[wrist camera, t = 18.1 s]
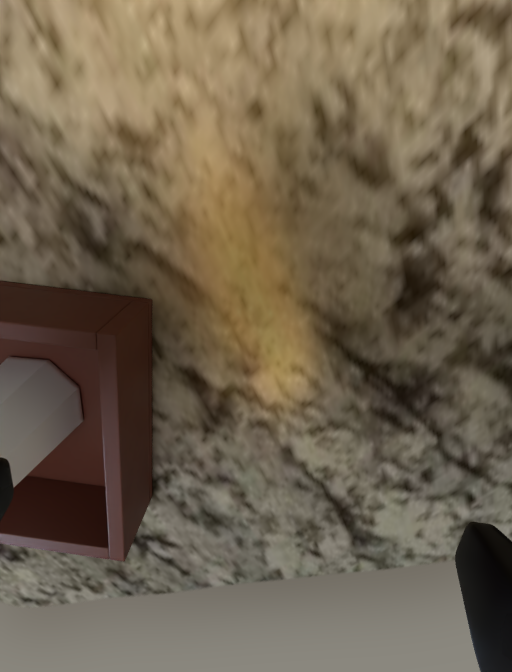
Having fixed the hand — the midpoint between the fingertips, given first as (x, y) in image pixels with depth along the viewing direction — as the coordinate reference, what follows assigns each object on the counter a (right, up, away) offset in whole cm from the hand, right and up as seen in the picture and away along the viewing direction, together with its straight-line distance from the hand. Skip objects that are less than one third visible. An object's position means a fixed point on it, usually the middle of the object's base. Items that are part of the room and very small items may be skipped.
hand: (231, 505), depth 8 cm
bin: (-11, 0, +15) cm, 19 cm away
